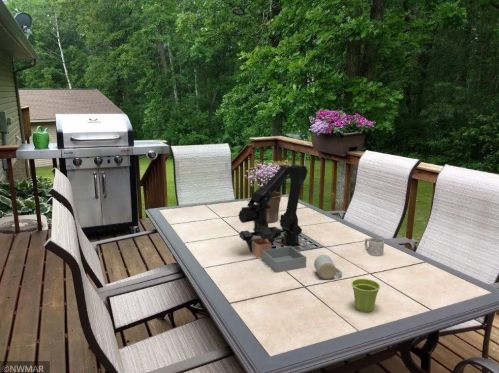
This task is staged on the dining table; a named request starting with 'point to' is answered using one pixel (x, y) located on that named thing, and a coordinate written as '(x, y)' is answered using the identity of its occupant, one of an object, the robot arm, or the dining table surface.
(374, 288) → the plant pot
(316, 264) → the ceramic mug
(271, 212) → the plant pot
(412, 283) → the dining table surface
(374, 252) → the mug
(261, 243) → the small crate
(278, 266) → the big crate
